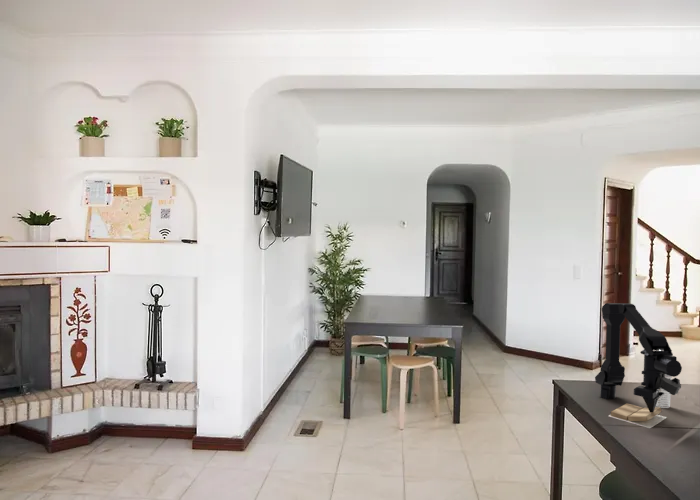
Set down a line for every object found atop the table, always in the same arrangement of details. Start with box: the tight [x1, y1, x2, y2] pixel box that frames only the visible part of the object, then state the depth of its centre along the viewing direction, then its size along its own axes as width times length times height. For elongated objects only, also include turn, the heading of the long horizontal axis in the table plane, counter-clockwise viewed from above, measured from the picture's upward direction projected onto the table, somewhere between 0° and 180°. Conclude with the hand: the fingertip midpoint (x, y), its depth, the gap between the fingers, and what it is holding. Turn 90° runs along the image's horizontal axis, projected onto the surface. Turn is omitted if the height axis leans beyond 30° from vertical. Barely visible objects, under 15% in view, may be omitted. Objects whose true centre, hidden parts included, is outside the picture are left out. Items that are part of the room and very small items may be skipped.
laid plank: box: [610, 403, 643, 421], centre depth 188 cm, size 15×6×2 cm, turn 131°
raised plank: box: [628, 407, 663, 421], centre depth 184 cm, size 15×6×2 cm, turn 131°
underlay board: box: [608, 414, 668, 429], centre depth 185 cm, size 17×14×1 cm
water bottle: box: [655, 350, 673, 409], centre depth 199 cm, size 7×7×25 cm
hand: (651, 411), depth 182 cm, fingers closed, pressing on raised plank
